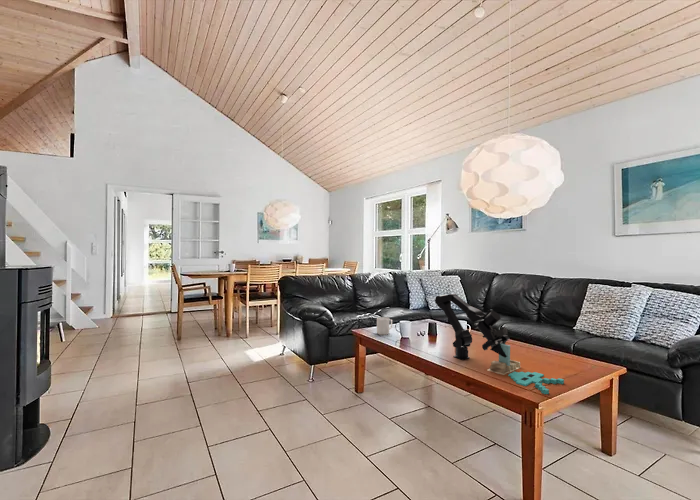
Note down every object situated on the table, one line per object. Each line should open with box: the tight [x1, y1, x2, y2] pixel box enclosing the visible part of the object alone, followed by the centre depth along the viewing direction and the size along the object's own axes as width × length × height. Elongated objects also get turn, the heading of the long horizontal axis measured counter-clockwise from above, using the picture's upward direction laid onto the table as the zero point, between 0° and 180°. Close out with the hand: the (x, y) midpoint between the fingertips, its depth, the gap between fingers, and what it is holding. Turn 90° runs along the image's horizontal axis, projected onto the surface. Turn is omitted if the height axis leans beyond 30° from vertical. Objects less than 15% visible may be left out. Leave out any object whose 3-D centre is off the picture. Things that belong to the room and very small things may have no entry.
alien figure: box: [507, 370, 565, 395], centre depth 173 cm, size 20×2×20 cm
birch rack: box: [487, 359, 522, 376], centre depth 189 cm, size 9×18×4 cm, turn 130°
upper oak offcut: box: [490, 360, 506, 369], centre depth 185 cm, size 6×4×2 cm, turn 46°
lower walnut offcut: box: [489, 365, 508, 374], centre depth 185 cm, size 7×4×2 cm, turn 40°
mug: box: [376, 316, 393, 336], centre depth 265 cm, size 12×9×11 cm
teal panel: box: [498, 343, 511, 366], centre depth 189 cm, size 5×2×12 cm, turn 40°
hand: (507, 356), depth 187 cm, fingers closed on teal panel, 2 cm apart
